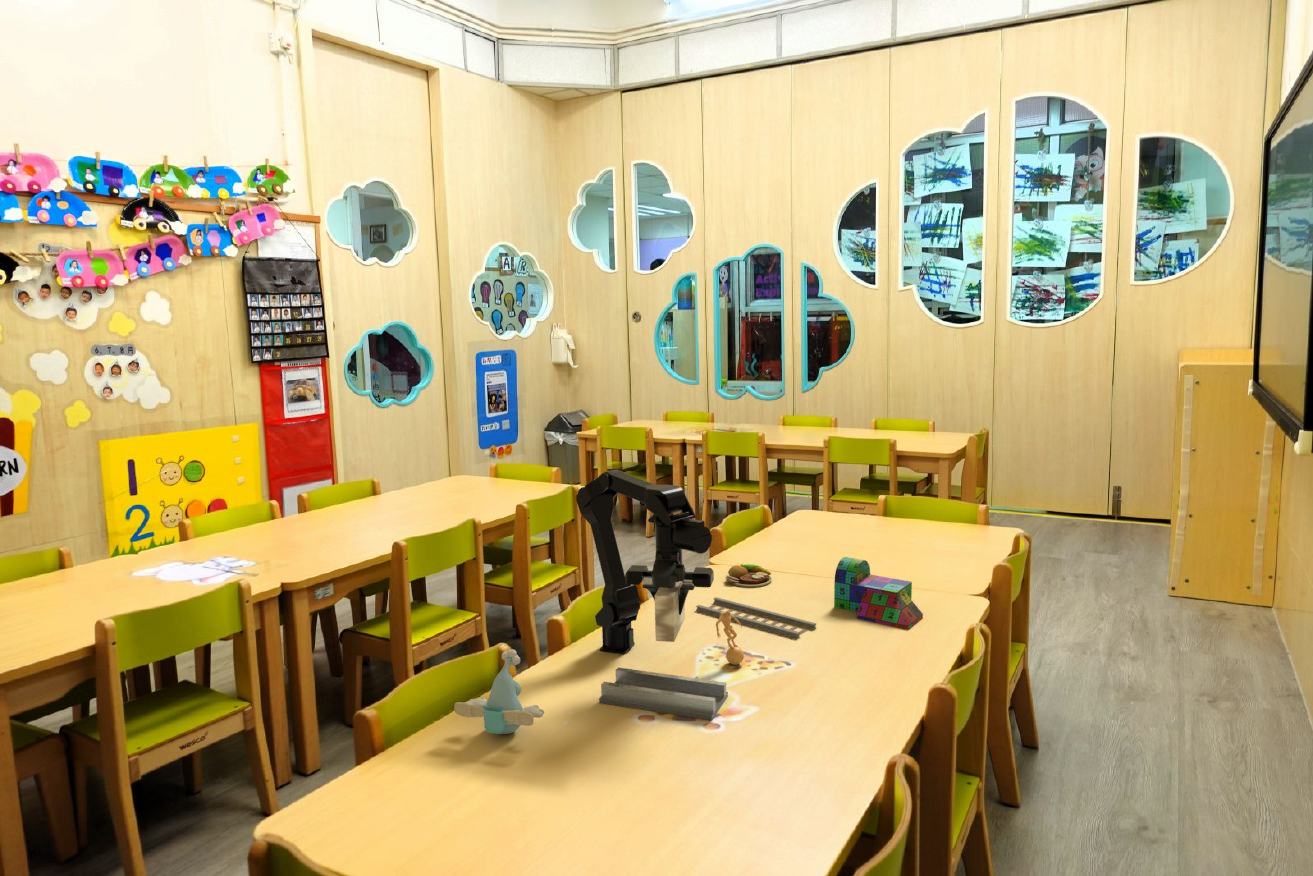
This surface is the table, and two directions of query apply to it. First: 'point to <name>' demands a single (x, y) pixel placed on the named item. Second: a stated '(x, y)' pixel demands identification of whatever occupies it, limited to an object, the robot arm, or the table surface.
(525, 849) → the table surface
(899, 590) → the toy train engine
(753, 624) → the model train track
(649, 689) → the floor track
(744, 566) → the toy food set
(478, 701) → the toy figure
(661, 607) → the door panel
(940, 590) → the table surface
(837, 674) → the table surface
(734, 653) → the figurine
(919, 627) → the table surface
